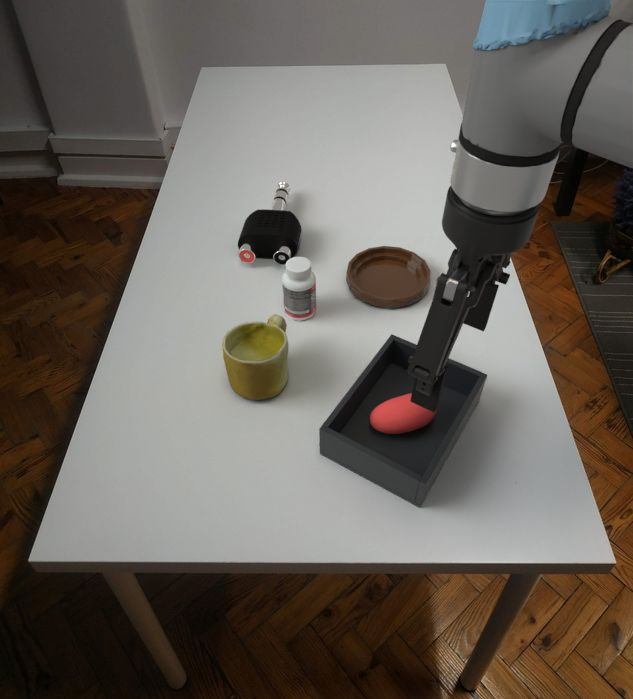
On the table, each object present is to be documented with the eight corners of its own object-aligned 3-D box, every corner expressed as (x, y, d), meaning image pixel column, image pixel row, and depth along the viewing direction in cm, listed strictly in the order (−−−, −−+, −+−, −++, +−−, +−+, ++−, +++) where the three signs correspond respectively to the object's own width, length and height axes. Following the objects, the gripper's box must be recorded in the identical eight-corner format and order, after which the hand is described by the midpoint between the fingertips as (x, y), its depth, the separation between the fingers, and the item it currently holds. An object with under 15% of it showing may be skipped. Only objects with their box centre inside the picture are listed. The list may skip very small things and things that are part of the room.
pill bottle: (319, 318, 91) (319, 272, 84) (287, 324, 91) (284, 277, 83) (312, 297, 95) (310, 251, 88) (281, 302, 94) (277, 256, 87)
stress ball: (435, 448, 75) (452, 408, 72) (375, 442, 72) (391, 400, 69) (419, 426, 79) (435, 388, 77) (362, 420, 76) (377, 380, 74)
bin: (479, 400, 79) (487, 374, 75) (419, 508, 68) (425, 484, 64) (388, 360, 85) (391, 333, 81) (319, 454, 74) (319, 428, 70)
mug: (266, 417, 76) (252, 352, 71) (216, 399, 82) (200, 339, 77) (321, 375, 84) (311, 315, 79) (272, 362, 90) (260, 305, 85)
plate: (441, 273, 99) (443, 262, 97) (405, 321, 91) (407, 310, 89) (371, 248, 104) (372, 237, 102) (331, 291, 96) (331, 280, 94)
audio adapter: (232, 243, 97) (257, 170, 114) (236, 267, 101) (260, 193, 118) (294, 246, 96) (310, 172, 113) (295, 270, 100) (311, 195, 117)
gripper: (503, 120, 54) (462, 286, 69) (382, 257, 40) (364, 427, 55) (582, 140, 51) (521, 308, 67) (482, 295, 37) (434, 462, 53)
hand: (450, 362), depth 61 cm, fingers open, 13 cm apart
